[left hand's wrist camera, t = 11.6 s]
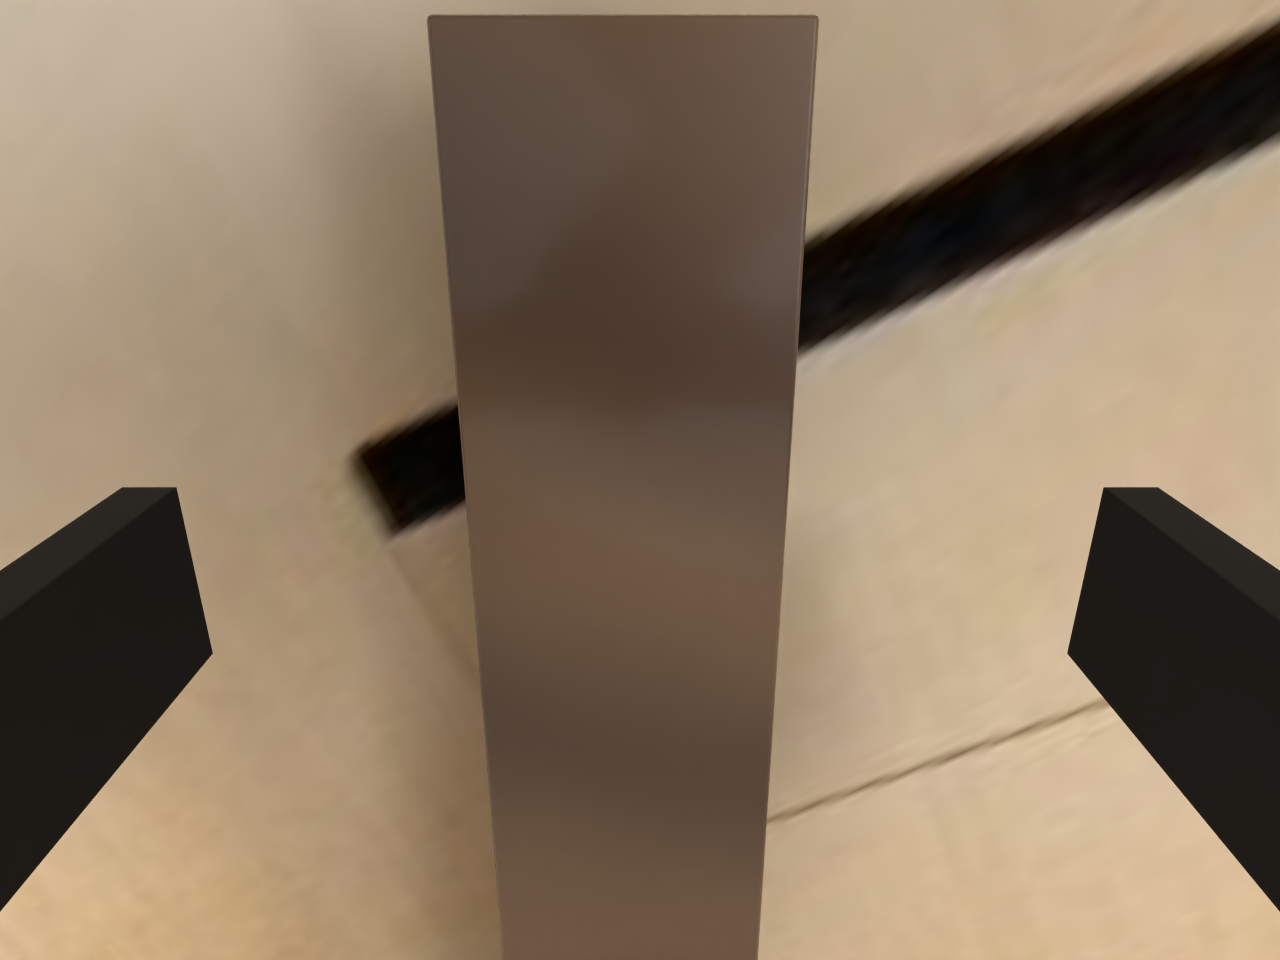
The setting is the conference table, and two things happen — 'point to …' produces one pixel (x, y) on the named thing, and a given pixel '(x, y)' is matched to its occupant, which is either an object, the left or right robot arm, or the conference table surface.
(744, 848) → the bar
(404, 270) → the conference table surface
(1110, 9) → the conference table surface
